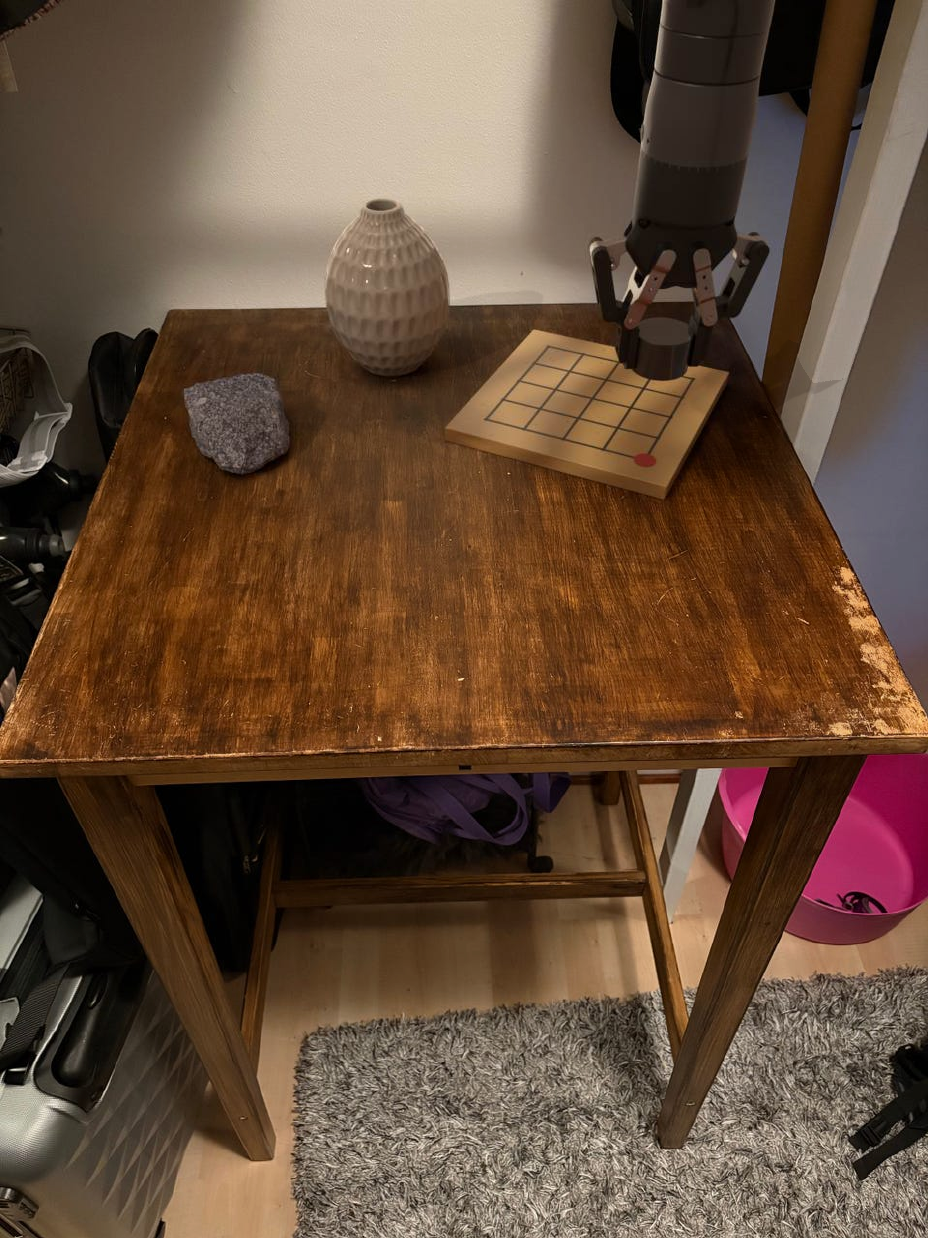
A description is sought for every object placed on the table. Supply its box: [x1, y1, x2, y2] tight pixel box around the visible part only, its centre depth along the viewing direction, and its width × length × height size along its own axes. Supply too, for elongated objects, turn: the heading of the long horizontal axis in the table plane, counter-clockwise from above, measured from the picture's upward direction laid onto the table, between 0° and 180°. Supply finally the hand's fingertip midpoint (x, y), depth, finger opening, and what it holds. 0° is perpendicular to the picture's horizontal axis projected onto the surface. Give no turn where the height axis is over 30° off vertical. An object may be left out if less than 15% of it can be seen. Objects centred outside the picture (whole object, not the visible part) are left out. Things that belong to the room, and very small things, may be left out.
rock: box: [183, 372, 291, 475], centre depth 87 cm, size 12×5×10 cm
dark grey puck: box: [632, 317, 694, 381], centre depth 75 cm, size 5×5×3 cm
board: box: [444, 329, 730, 501], centre depth 91 cm, size 22×22×2 cm
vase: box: [324, 197, 451, 378], centre depth 93 cm, size 13×13×17 cm
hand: (659, 362), depth 76 cm, fingers closed on dark grey puck, 4 cm apart
